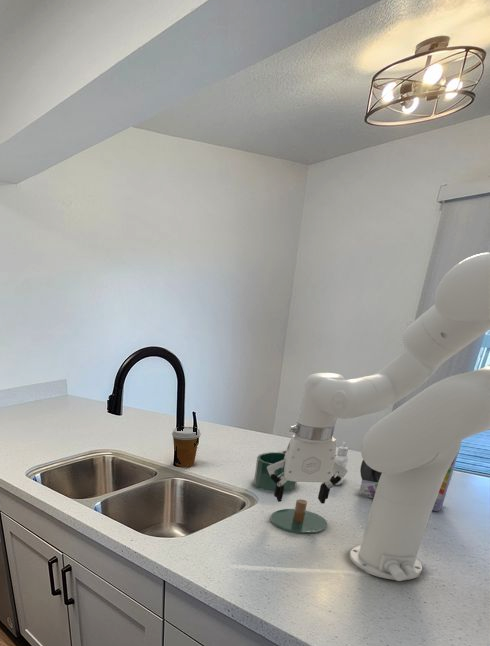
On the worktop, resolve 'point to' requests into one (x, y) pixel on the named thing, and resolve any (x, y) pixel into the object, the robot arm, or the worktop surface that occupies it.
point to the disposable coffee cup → (185, 445)
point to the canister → (263, 476)
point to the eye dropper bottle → (341, 459)
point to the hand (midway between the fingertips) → (299, 500)
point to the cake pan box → (373, 476)
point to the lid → (299, 519)
